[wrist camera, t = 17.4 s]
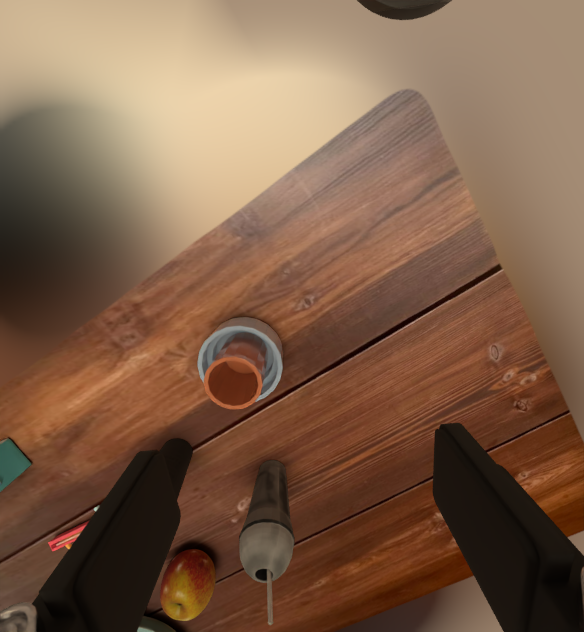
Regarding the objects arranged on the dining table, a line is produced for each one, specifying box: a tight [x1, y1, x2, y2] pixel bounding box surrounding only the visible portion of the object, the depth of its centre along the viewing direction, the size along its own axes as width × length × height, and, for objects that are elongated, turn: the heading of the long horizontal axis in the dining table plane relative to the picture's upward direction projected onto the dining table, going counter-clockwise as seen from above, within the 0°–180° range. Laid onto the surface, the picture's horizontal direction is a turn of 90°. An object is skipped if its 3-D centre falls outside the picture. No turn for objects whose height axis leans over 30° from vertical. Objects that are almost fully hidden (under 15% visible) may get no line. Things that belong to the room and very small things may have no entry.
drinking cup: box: [159, 439, 193, 499], centre depth 37 cm, size 8×8×20 cm
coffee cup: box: [204, 332, 268, 409], centre depth 37 cm, size 7×7×9 cm
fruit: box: [160, 549, 216, 621], centre depth 49 cm, size 10×9×8 cm
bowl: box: [197, 317, 283, 402], centre depth 40 cm, size 11×11×5 cm
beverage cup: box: [239, 460, 294, 625], centre depth 38 cm, size 7×7×20 cm
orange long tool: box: [49, 505, 99, 551], centre depth 49 cm, size 24×2×5 cm
